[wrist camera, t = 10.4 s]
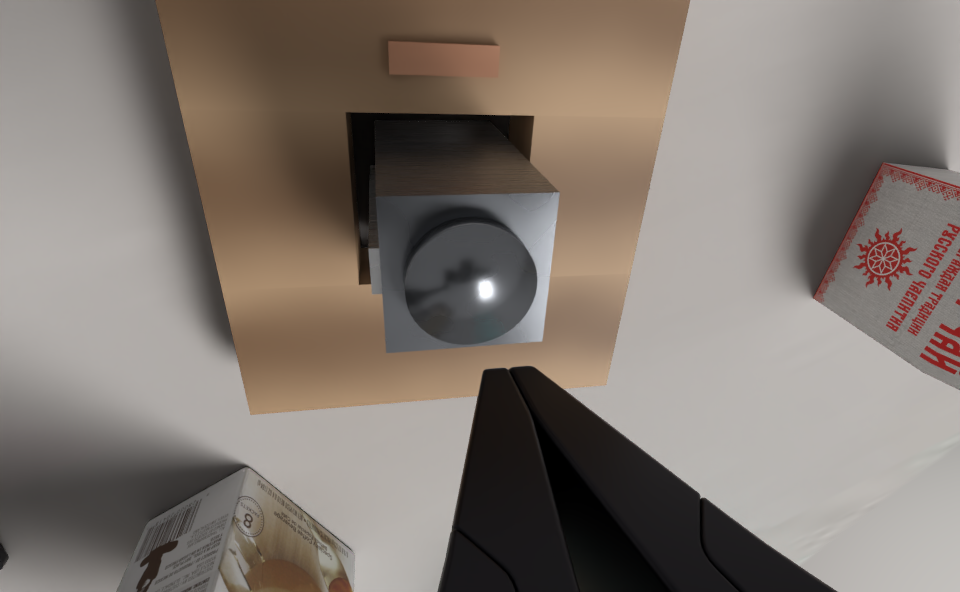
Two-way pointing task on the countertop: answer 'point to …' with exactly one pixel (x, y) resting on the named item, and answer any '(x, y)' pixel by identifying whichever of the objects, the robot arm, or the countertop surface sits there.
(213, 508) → the coffee box
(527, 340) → the peg
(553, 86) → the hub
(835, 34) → the countertop surface
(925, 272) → the white upright block
